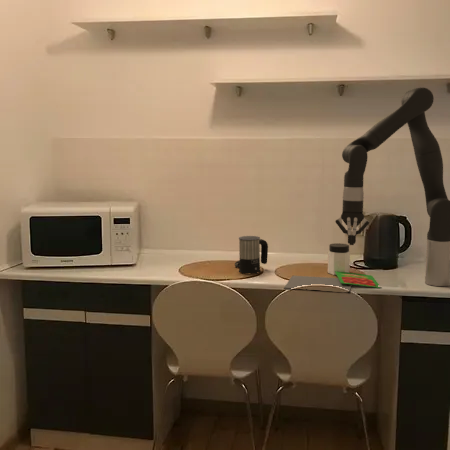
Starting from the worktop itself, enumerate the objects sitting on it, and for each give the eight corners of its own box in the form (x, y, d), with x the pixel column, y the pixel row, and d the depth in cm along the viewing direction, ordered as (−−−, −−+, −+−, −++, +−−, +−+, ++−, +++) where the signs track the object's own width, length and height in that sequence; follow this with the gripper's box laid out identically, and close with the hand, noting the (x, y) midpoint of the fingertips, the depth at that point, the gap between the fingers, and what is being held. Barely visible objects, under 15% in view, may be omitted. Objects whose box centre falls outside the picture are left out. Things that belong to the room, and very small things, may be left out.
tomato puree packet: (341, 281, 221) (334, 270, 240) (340, 284, 221) (334, 272, 241) (382, 286, 220) (372, 274, 240) (381, 289, 220) (371, 277, 240)
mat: (352, 280, 232) (352, 279, 232) (349, 293, 213) (349, 291, 213) (292, 276, 238) (292, 275, 238) (284, 289, 219) (284, 287, 219)
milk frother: (252, 275, 241) (252, 240, 239) (221, 270, 251) (221, 236, 249) (270, 269, 253) (271, 235, 250) (241, 264, 262) (241, 232, 260)
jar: (328, 275, 241) (328, 246, 240) (327, 270, 249) (327, 243, 248) (350, 275, 240) (351, 247, 238) (348, 271, 248) (349, 243, 246)
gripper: (371, 198, 220) (369, 244, 222) (335, 197, 223) (334, 242, 226) (371, 200, 212) (369, 247, 215) (334, 199, 216) (332, 245, 218)
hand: (351, 244), depth 220 cm, fingers closed
